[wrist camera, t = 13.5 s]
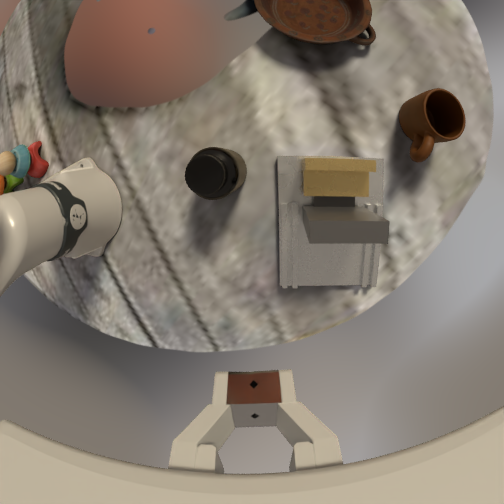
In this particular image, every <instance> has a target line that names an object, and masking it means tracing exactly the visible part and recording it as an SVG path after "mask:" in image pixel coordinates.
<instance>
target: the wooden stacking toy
mask: <svg viewBox="0 0 504 504" xmlns="http://www.w3.org/2000/svg"><path fill="white" fill-rule="evenodd" d="M41 144H42V143H41V141H38V142H35V143H33V144H31V145H30V146H29V147H28V148H27V147H26V146H25V145H19V146H17V147H16V148H14V149H13V150H11V151H10V152H9V151H5V152H3V153H1V154H0V195H3V192H4V193H5V194H6V193H11V192H13V191H12V189H13V188H14V187H16V186H17V185H20V184H21V183H23V181H24V176H25V175H26V174H27V173H28V174H29V175H30V176H32V177H34V178H40V177H42V176H43V175H44V174H45V173H46V171H47V169H48V166H49V164H48V162H47V161H45V160H43V159H42V158H41V157H40V156H39V154H38V148H39V147H40V146H41Z"/></svg>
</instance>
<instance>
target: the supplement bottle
mask: <svg viewBox="0 0 504 504" xmlns="http://www.w3.org/2000/svg"><path fill="white" fill-rule="evenodd" d="M246 174H247V168H246V164H245V161H244V160H243V158H242V157H241V156H240V155H239V154H238V153H236V152H234V151H232V150H229V149H224V148H218V147H209V148H205V149H202V150H200V151H199V152H197V153H196V154H195V155H194V156H193V157H192V159H191V160H190V162H189V164H188V165H187V167H186V171H185V180H186V184H187V185H188V187H189V188H190V189H191V190H192V191H193V192H195V193H196V194H197V195H198V196H200V197H202V198H204V199H208V200H217V199H221V198H224V197H226V196H227V195H229V194H231V193H232V192H234V191H236V190H237V189H238V188H239V187H240V186H241V185H242V184H243V183H244V181H245V178H246Z"/></svg>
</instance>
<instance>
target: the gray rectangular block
mask: <svg viewBox="0 0 504 504" xmlns="http://www.w3.org/2000/svg"><path fill="white" fill-rule="evenodd" d="M303 224H304V228H305V231H306V234H307V237H308V241H309V244H388V235H389V221H388V220H386V219H384V218H383V217H381V216H379V215H377V214H376V213H374V212H372V211H370V210H369V209H367V208H365V207H363V206H355V197H348V196H313V205H303Z"/></svg>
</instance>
